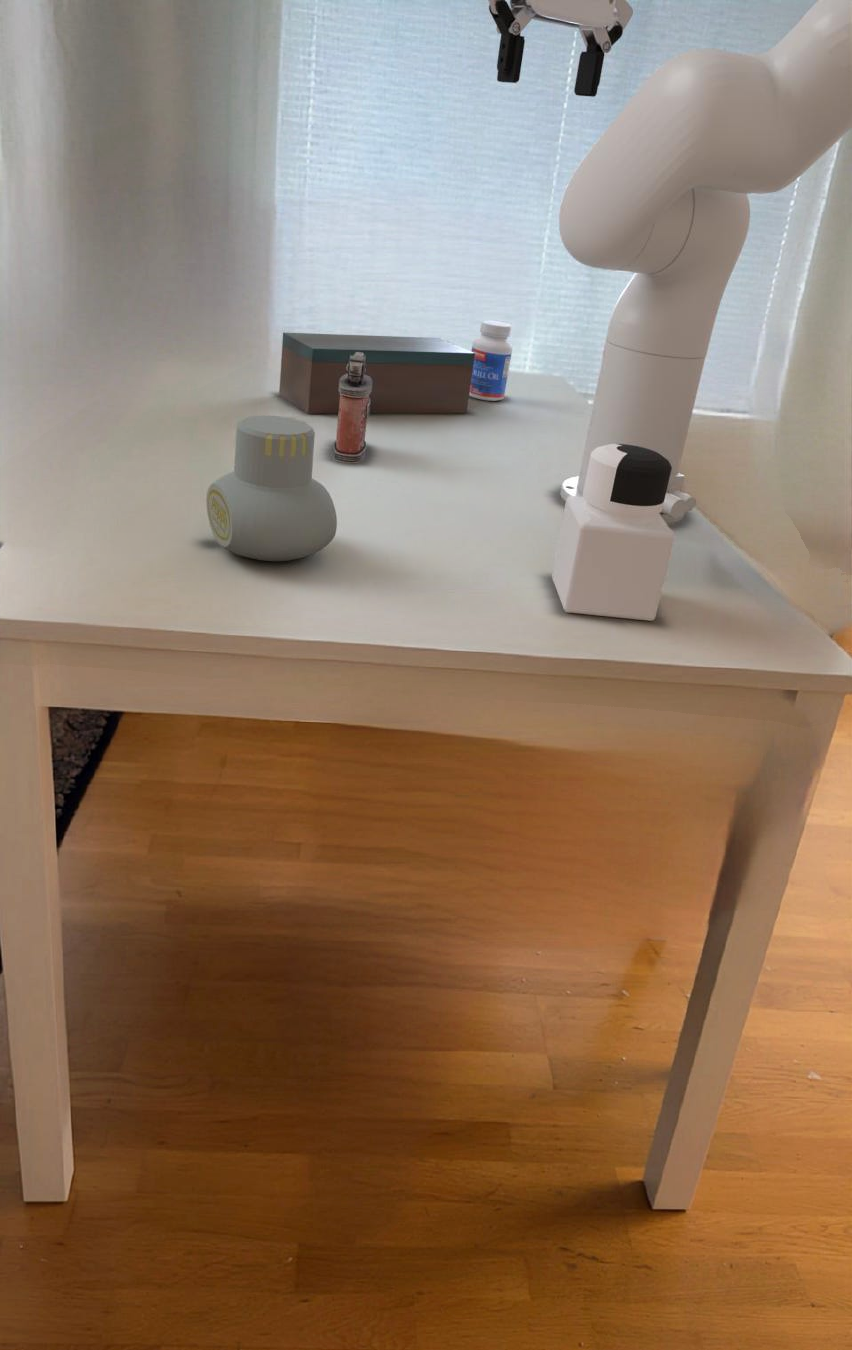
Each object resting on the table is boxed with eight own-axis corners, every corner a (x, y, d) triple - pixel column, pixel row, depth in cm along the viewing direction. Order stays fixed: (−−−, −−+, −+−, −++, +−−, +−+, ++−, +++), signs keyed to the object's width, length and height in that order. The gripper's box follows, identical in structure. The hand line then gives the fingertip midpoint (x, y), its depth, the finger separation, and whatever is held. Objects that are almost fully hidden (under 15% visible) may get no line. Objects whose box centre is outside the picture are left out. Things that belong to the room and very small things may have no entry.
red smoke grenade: (362, 465, 109) (372, 366, 105) (329, 460, 109) (337, 361, 104) (367, 445, 116) (377, 351, 112) (336, 441, 116) (345, 347, 112)
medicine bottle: (635, 587, 87) (668, 443, 82) (655, 622, 81) (692, 469, 76) (550, 578, 87) (578, 432, 81) (563, 613, 80) (594, 458, 75)
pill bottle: (460, 396, 144) (470, 321, 140) (470, 389, 149) (480, 317, 145) (499, 403, 143) (511, 329, 139) (508, 397, 148) (519, 324, 144)
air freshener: (342, 573, 82) (354, 445, 78) (237, 578, 79) (244, 445, 74) (295, 524, 91) (303, 407, 86) (199, 527, 87) (202, 405, 83)
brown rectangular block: (466, 413, 136) (475, 353, 133) (308, 414, 125) (312, 348, 122) (432, 395, 143) (439, 338, 139) (279, 394, 132) (282, 332, 129)
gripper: (525, -141, 95) (495, 78, 102) (673, -97, 103) (635, 102, 110) (481, -131, 100) (456, 75, 108) (625, -90, 108) (592, 99, 116)
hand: (546, 89), depth 109 cm, fingers open, 9 cm apart
